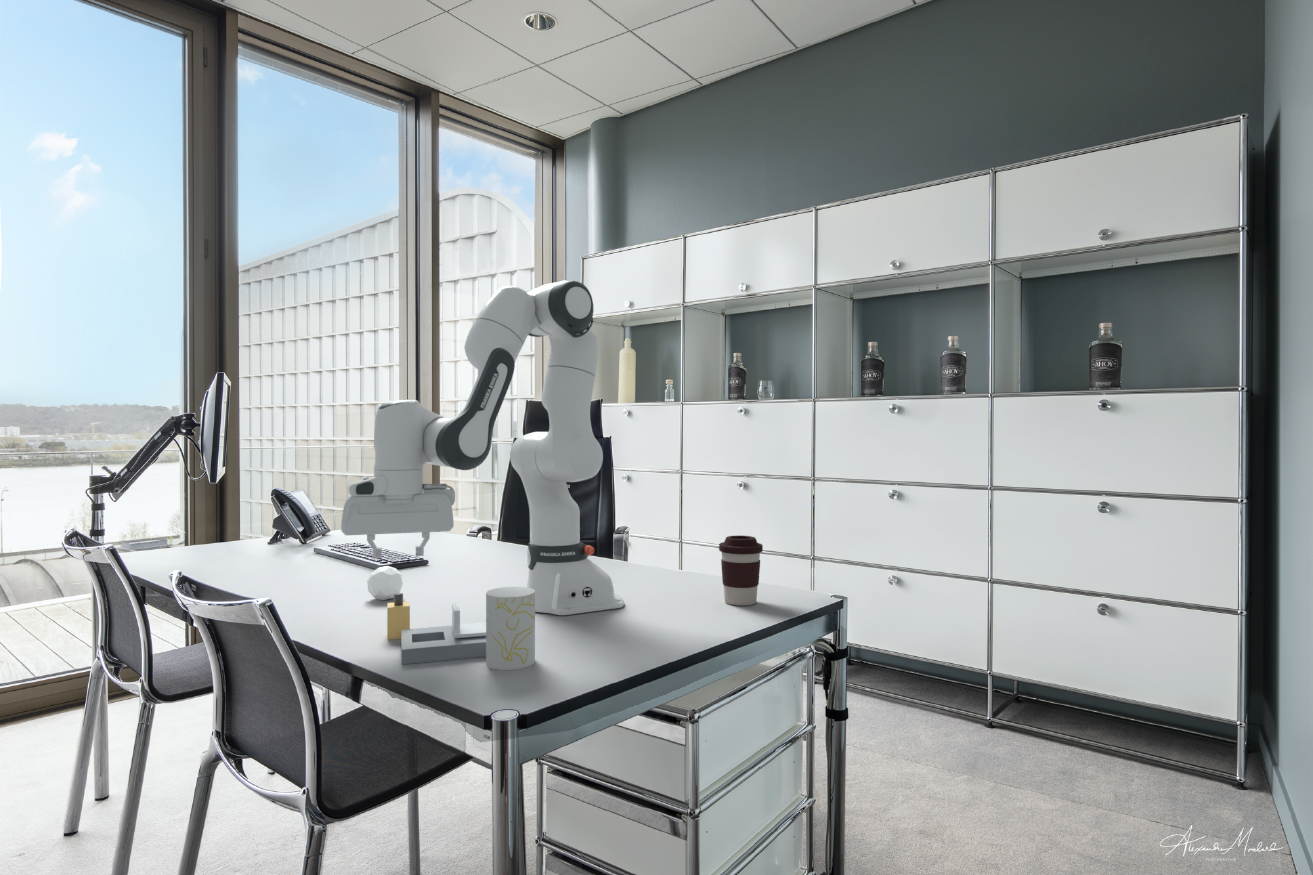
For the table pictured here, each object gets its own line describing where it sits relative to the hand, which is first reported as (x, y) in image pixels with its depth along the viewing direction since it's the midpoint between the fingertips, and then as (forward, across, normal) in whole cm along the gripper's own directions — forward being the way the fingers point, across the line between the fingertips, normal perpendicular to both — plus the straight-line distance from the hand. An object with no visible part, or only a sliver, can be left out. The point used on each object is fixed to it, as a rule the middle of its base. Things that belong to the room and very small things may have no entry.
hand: (398, 556), depth 141 cm
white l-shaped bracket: (+12, -13, +12) cm, 21 cm away
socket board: (+15, -8, +12) cm, 21 cm away
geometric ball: (+15, +3, -33) cm, 37 cm away
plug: (+15, 0, 0) cm, 15 cm away
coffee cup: (+15, -74, -4) cm, 76 cm away
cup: (+15, -18, +23) cm, 33 cm away
